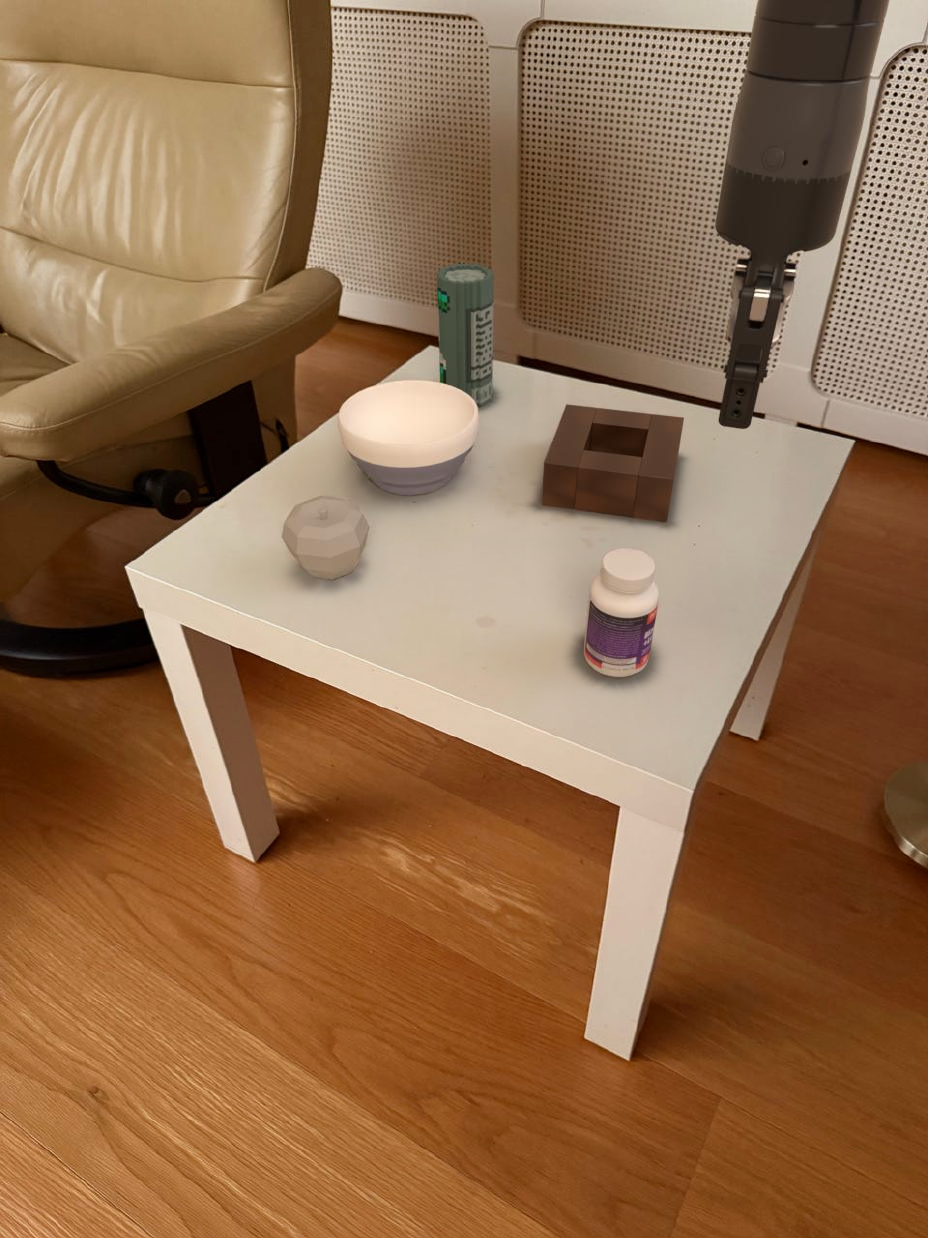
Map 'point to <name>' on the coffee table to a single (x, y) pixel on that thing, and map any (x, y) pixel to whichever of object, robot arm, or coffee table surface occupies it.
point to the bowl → (409, 433)
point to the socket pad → (613, 462)
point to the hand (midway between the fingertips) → (738, 398)
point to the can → (466, 329)
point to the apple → (326, 536)
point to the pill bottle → (621, 614)
